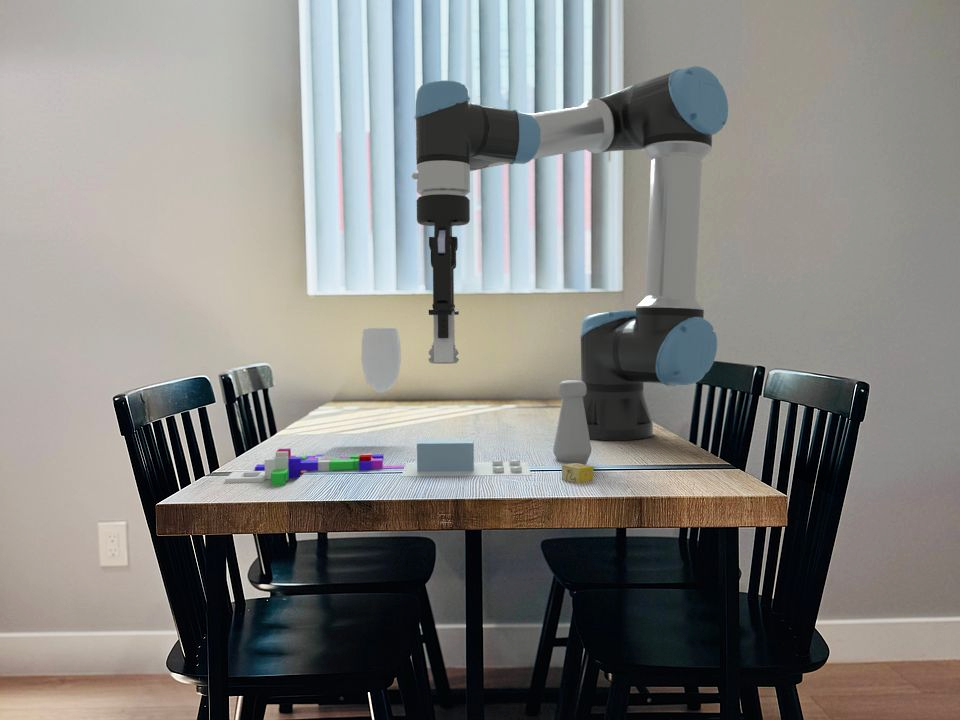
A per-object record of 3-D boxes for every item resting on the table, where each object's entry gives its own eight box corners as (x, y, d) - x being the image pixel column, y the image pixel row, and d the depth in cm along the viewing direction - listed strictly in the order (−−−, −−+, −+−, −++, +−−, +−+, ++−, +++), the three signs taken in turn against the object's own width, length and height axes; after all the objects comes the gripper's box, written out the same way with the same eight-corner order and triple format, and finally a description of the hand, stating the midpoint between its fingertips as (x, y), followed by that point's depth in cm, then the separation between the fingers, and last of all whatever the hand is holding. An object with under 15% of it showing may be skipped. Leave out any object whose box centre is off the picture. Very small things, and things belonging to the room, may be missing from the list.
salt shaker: (578, 470, 119) (578, 382, 118) (546, 466, 122) (545, 381, 121) (598, 464, 123) (598, 380, 122) (566, 460, 127) (565, 378, 126)
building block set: (403, 459, 132) (403, 432, 132) (405, 485, 112) (404, 453, 112) (248, 463, 130) (247, 435, 129) (221, 491, 109) (220, 458, 109)
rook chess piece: (458, 363, 112) (458, 306, 112) (426, 363, 113) (426, 306, 112) (459, 361, 117) (459, 307, 116) (429, 361, 117) (429, 307, 117)
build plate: (527, 468, 121) (527, 457, 121) (531, 482, 111) (531, 470, 111) (407, 469, 121) (407, 458, 121) (401, 483, 111) (400, 471, 111)
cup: (366, 438, 150) (364, 327, 149) (404, 438, 150) (403, 327, 149) (359, 444, 143) (357, 328, 142) (399, 444, 143) (397, 328, 142)
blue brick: (473, 465, 118) (473, 438, 117) (473, 471, 114) (473, 443, 113) (419, 466, 118) (419, 439, 117) (417, 471, 114) (416, 443, 113)
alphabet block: (576, 484, 110) (576, 462, 110) (593, 487, 107) (593, 465, 107) (561, 487, 108) (561, 464, 108) (578, 491, 105) (578, 468, 105)
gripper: (421, 204, 122) (423, 357, 123) (411, 186, 105) (413, 365, 106) (470, 204, 122) (471, 357, 123) (468, 186, 105) (469, 364, 106)
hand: (444, 360), depth 115 cm, fingers closed on rook chess piece, 4 cm apart
